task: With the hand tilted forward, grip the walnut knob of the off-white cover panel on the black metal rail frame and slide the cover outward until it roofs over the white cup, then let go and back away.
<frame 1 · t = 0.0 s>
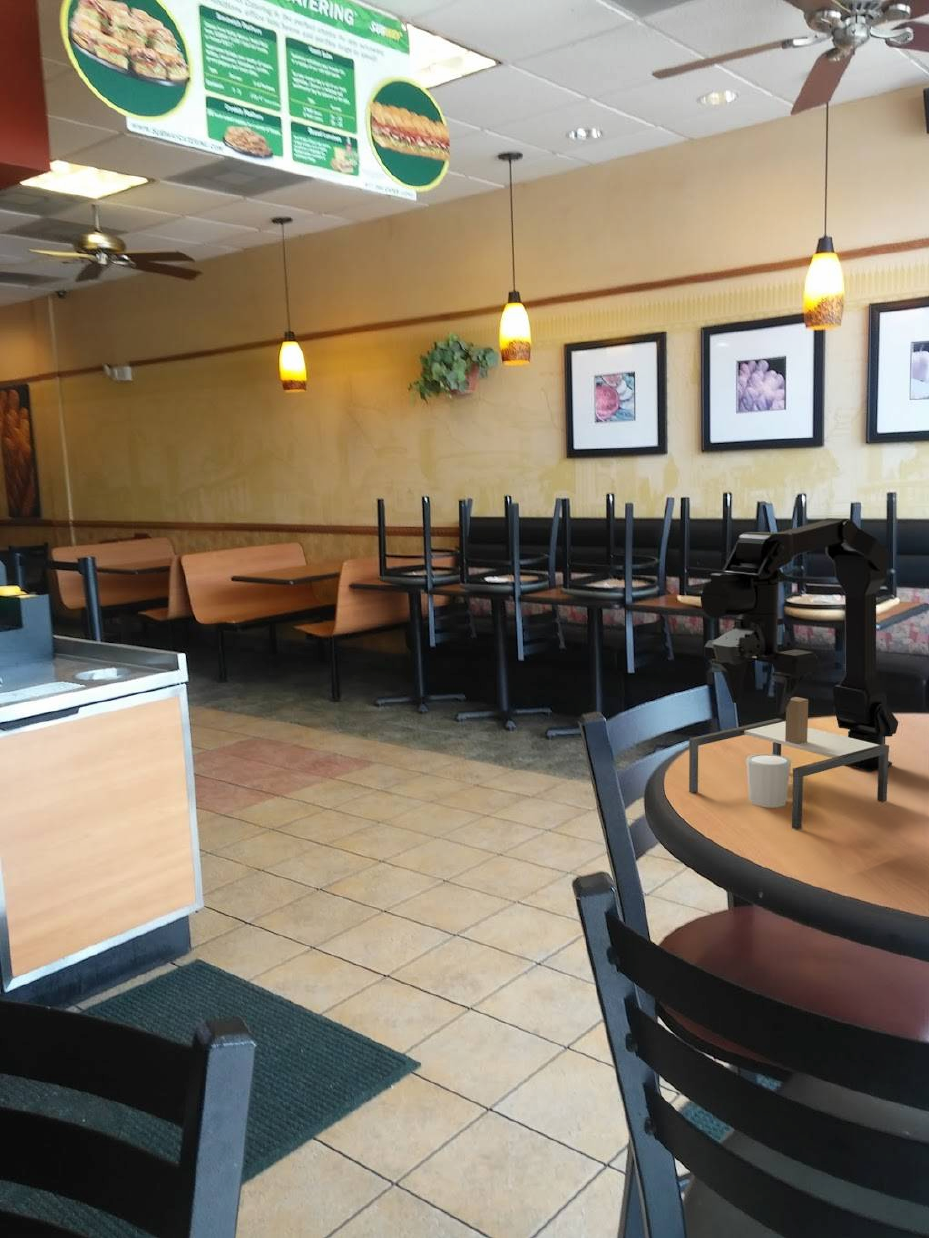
hand: (757, 707, 161), 15 cm above the table, tool pointing down, fingers open, 9 cm apart
cover frame: (767, 801, 161), on the table
sliding cover: (810, 718, 164), point 12 cm above the table, slide at 10.0 cm
white cup: (767, 802, 161), on the table
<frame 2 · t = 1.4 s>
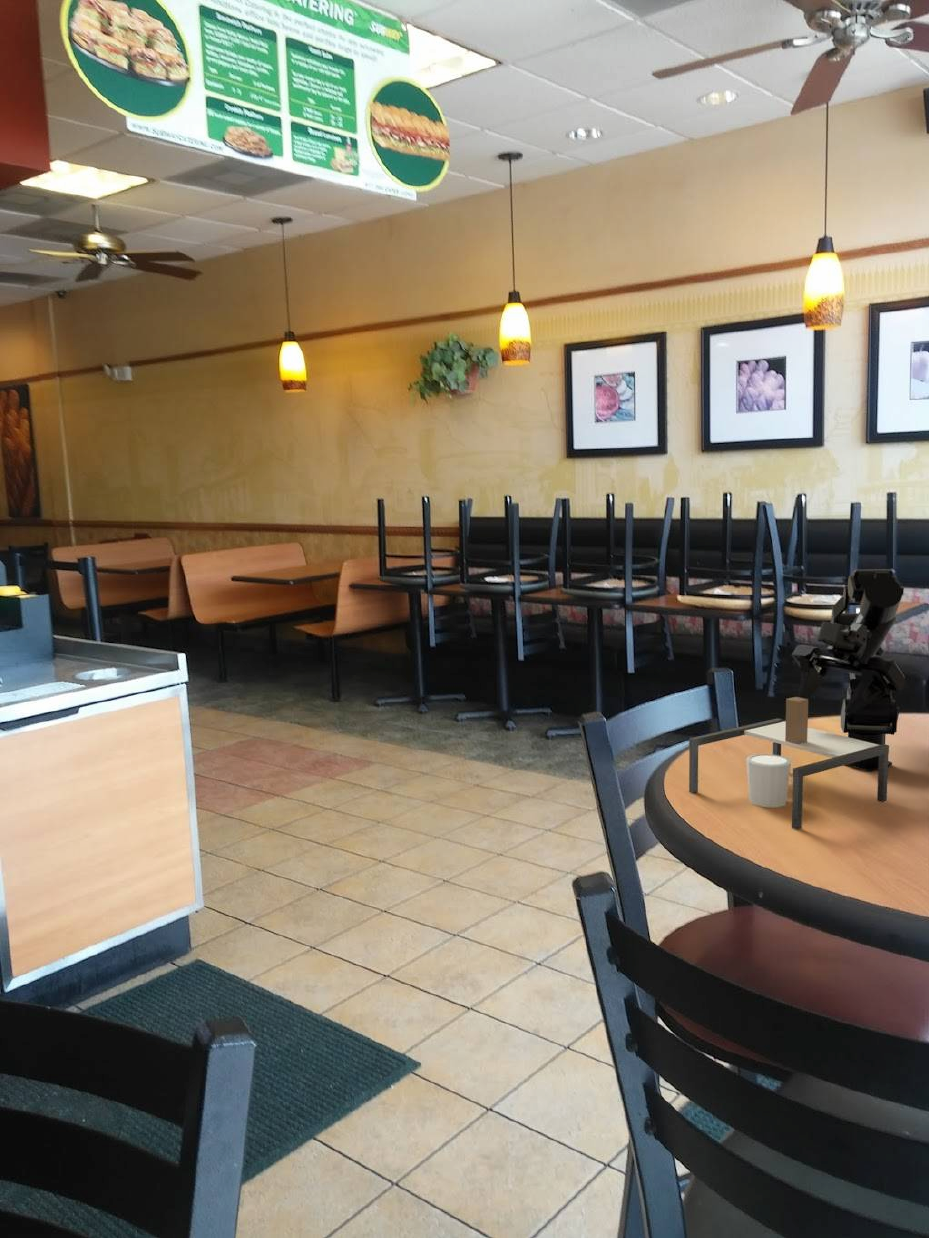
hand: (822, 707, 165), 13 cm above the table, tool tilted 45°, fingers open, 9 cm apart
nothing on the table moved.
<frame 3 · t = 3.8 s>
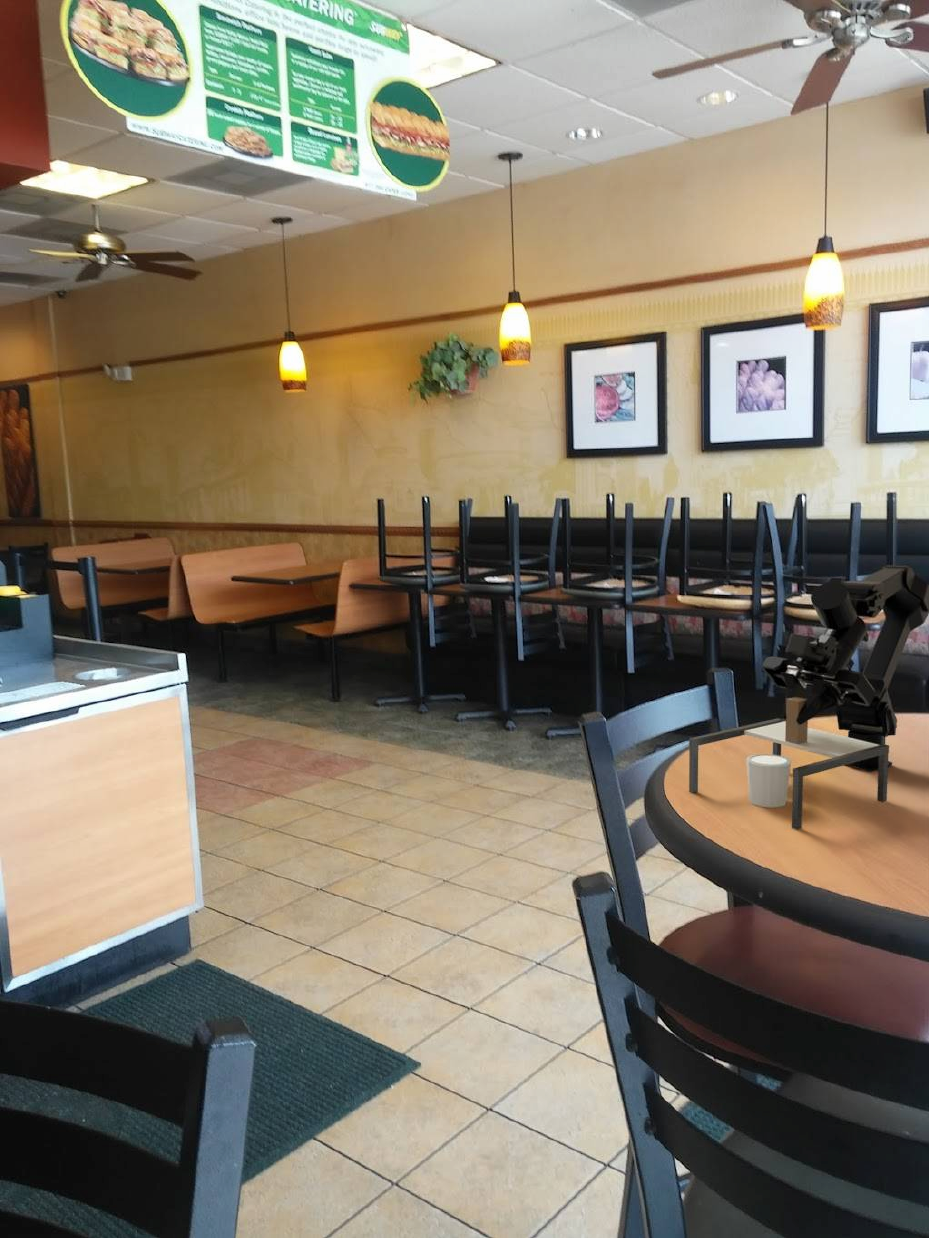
hand: (790, 721, 162), 12 cm above the table, tool tilted 45°, fingers closed on sliding cover, 2 cm apart
sliding cover: (810, 718, 164), point 12 cm above the table, slide at 10.0 cm, touching gripper
everything else where it was.
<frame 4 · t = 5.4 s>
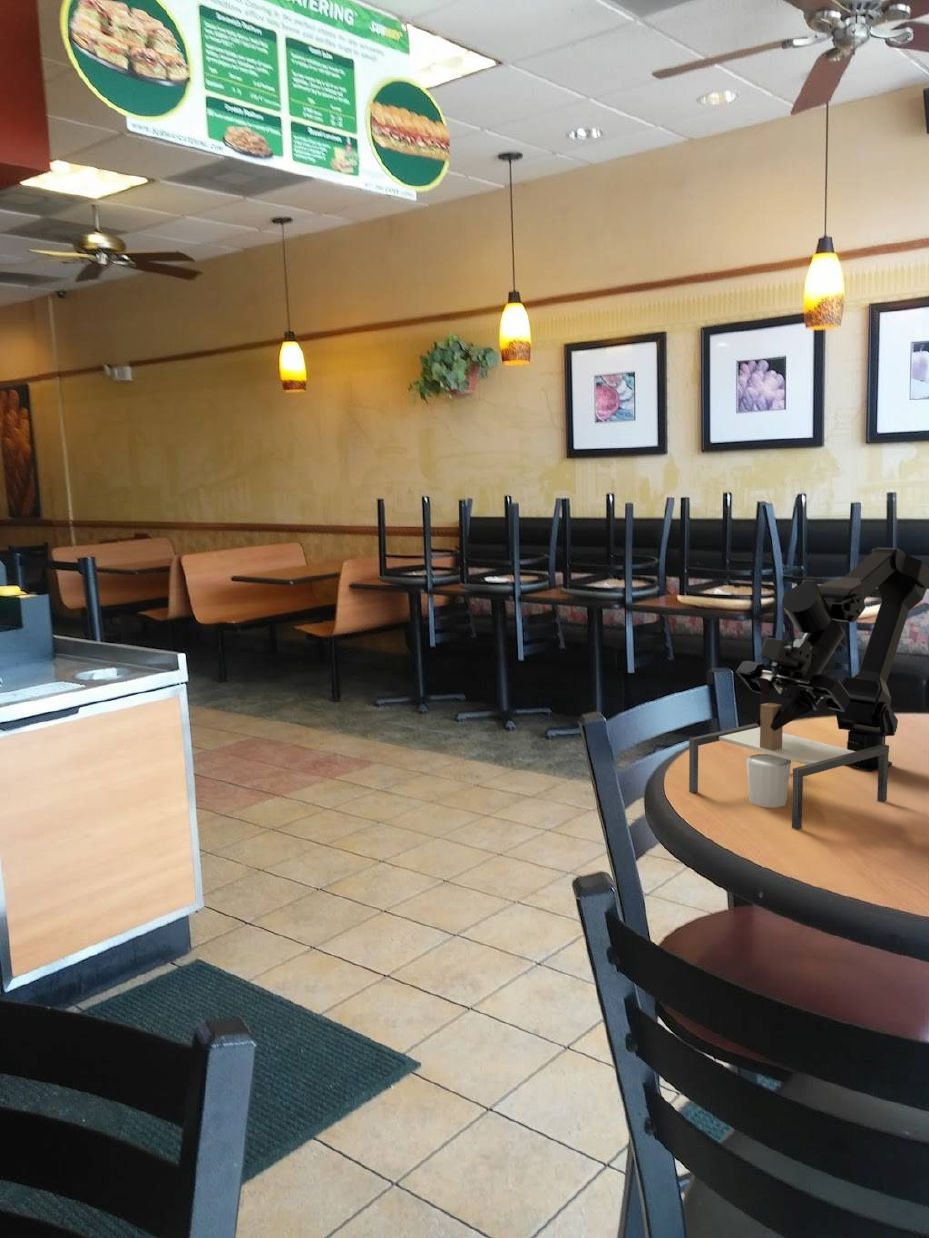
hand: (765, 727, 158), 12 cm above the table, tool tilted 45°, fingers closed on sliding cover, 2 cm apart
sliding cover: (786, 724, 161), point 12 cm above the table, slide at 4.0 cm, touching gripper
everything else where it was.
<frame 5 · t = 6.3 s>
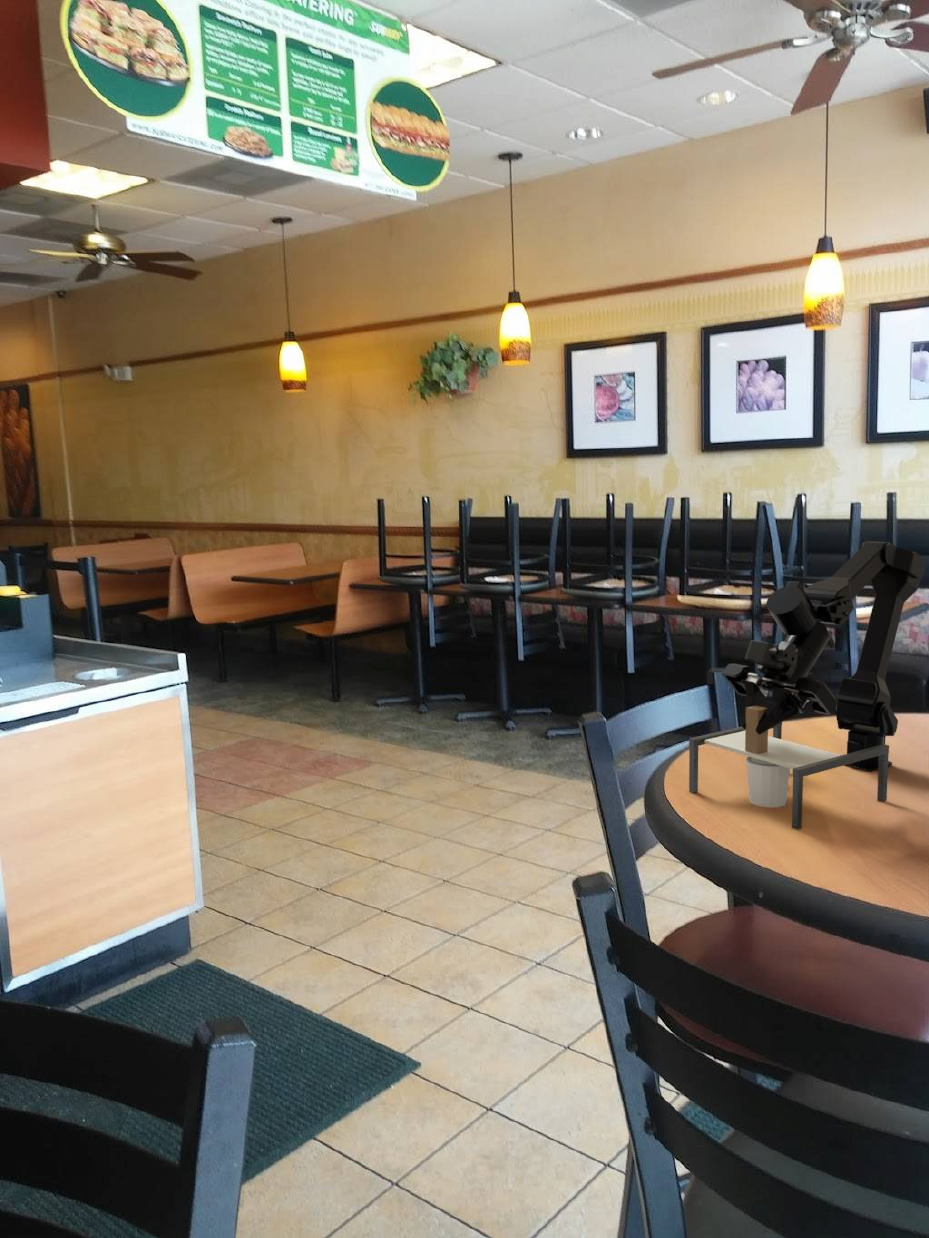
hand: (750, 730, 157), 12 cm above the table, tool tilted 45°, fingers closed on sliding cover, 2 cm apart
sliding cover: (771, 727, 159), point 12 cm above the table, slide at 0.6 cm, touching gripper
everything else where it was.
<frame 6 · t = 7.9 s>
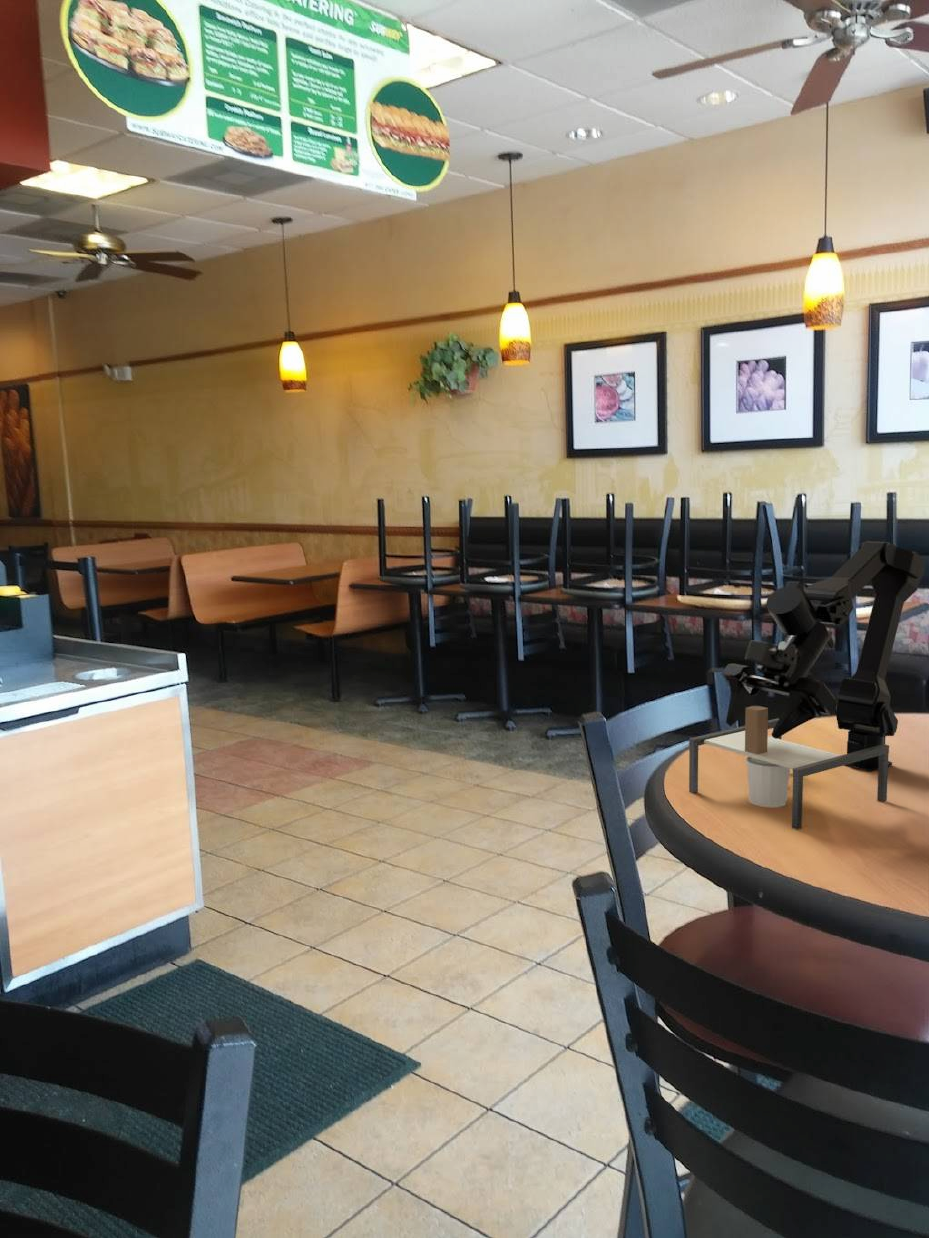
hand: (750, 730, 157), 12 cm above the table, tool tilted 45°, fingers open, 9 cm apart
sliding cover: (771, 728, 159), point 12 cm above the table, slide at 0.5 cm
everything else where it was.
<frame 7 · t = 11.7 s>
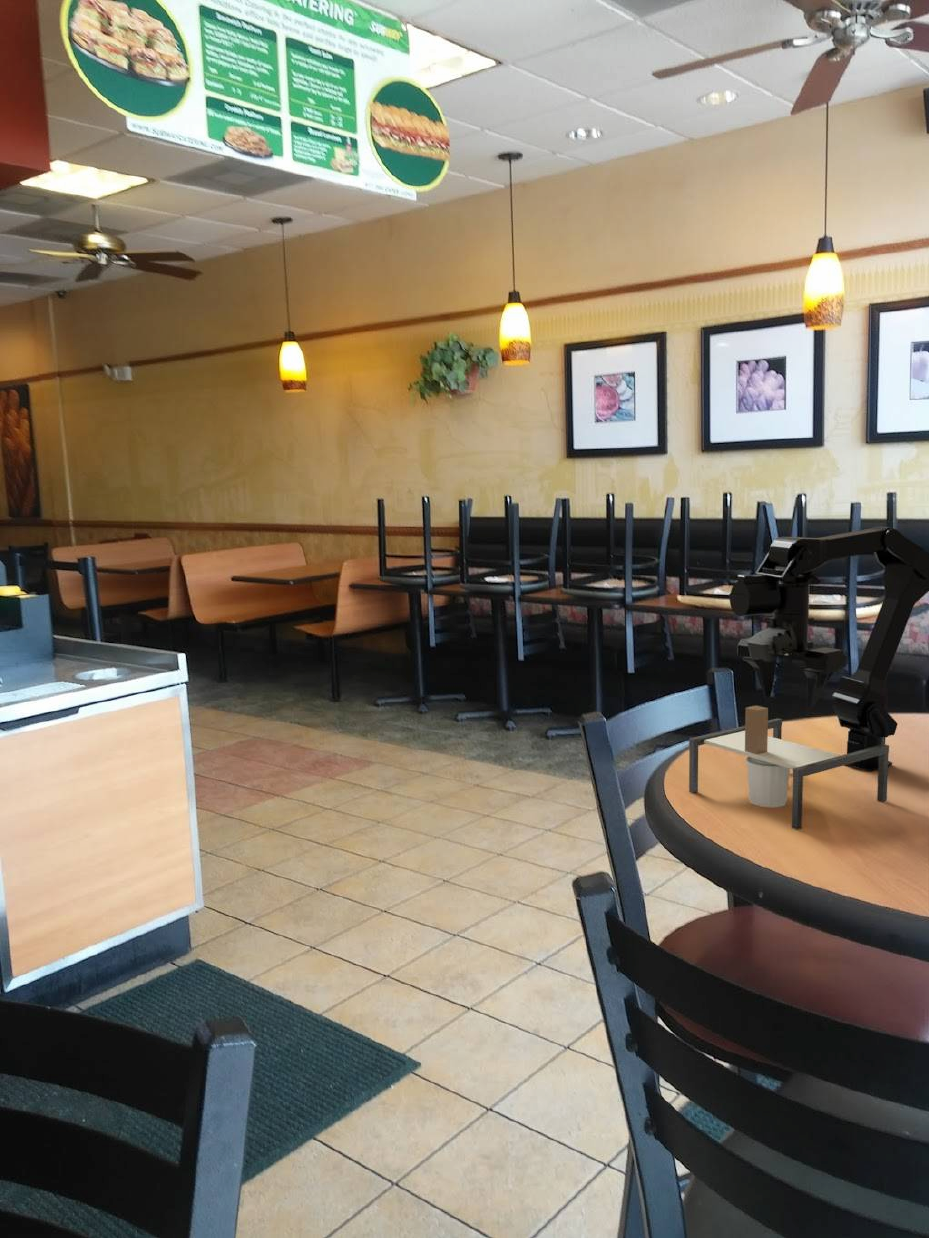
hand: (788, 702, 172), 13 cm above the table, tool pointing down, fingers open, 9 cm apart
nothing on the table moved.
at the end: sliding cover slide at 0.5 cm; white cup inside the target area (0.0 cm from its centre), on the table; white cup tilted 0° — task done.
